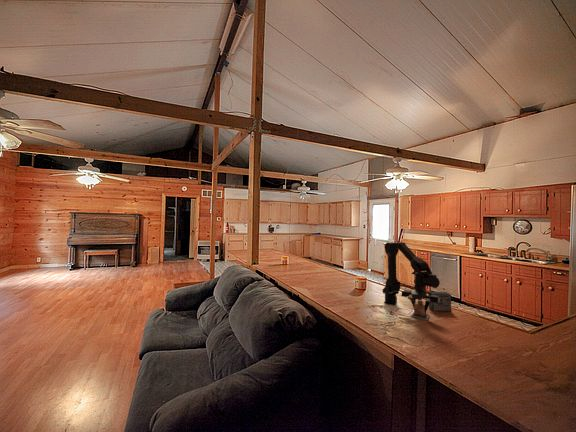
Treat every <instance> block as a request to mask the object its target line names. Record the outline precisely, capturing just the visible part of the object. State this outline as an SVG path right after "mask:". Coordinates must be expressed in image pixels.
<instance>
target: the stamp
mask: <svg viewBox="0 0 576 432" xmlns="http://www.w3.org/2000/svg"><path fill="white" fill-rule="evenodd" d="M413 310H414V314H415V315H420V316H425V315H426V313H427V312H426V313H425V302H423V299H422V300H418V299H417V301H416V302H415V303H414V307H413Z"/></svg>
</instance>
